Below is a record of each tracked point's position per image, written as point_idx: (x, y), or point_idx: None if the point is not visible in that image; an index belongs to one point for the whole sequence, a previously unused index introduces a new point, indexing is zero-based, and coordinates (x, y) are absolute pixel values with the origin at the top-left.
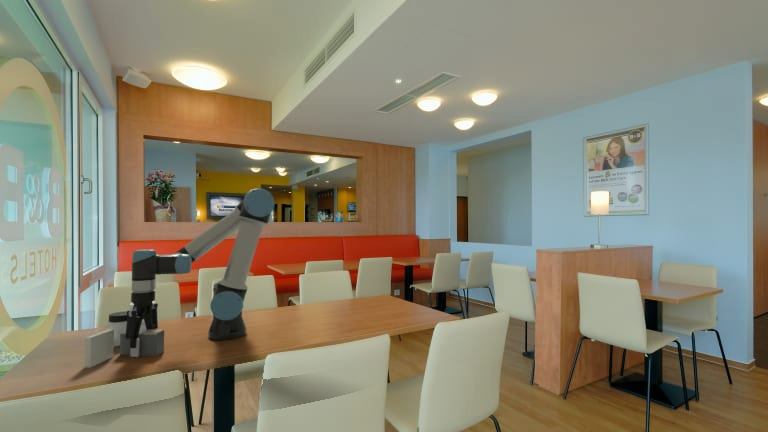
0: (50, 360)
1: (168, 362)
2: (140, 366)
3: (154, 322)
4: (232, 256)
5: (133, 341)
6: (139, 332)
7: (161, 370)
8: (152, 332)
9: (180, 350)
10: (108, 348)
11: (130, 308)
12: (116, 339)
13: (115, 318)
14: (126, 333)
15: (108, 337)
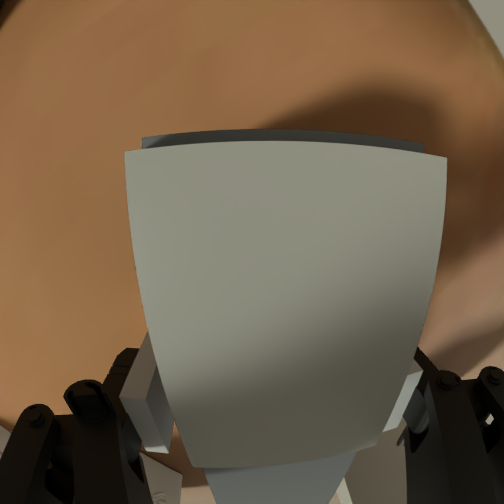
0: (332, 498)
1: (407, 18)
2: (472, 152)
3: (40, 490)
4: None
5: (434, 369)
6: (295, 474)
7: (480, 31)
8: (427, 276)
9: (160, 46)
10: (374, 446)
11: None
12: (171, 494)
13: None
14: (494, 440)
15: (398, 496)
